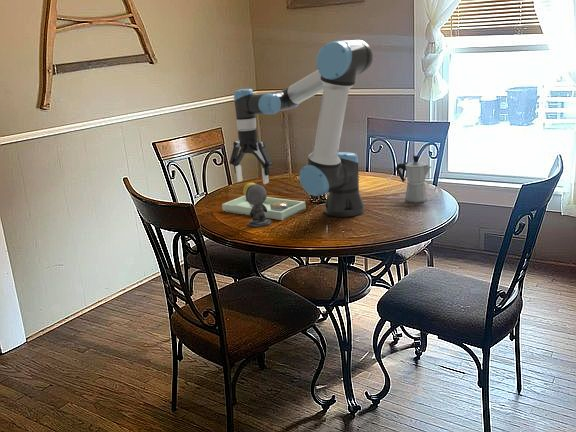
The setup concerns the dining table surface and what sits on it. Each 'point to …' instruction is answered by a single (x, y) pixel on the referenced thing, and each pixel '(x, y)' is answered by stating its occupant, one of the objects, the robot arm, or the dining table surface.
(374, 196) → the dining table surface
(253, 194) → the figurine
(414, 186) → the coffee maker
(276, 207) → the tin
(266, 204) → the pale green tray
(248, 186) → the light bulb
